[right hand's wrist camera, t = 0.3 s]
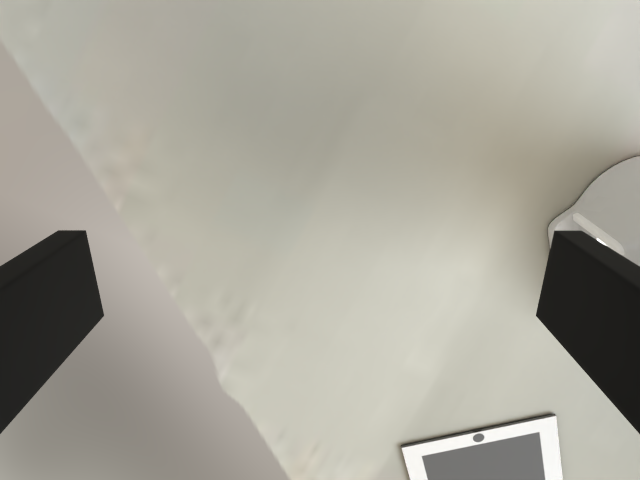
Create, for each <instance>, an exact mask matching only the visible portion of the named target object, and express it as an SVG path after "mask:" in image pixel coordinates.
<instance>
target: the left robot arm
mask: <svg viewBox="0 0 640 480" xmlns="http://www.w3.org/2000/svg"><path fill="white" fill-rule="evenodd" d="M554 231H583V232H585V233H586V234H588V235H590V236H591V237H593V238H595V239H596V240H598V241H599V242H601V243H603V244H604V245H606V246H608V247H609V248H611V249H612V250H614V251H616V252H617V253H619V254H620V255H622V256H624V257H625V258H627V259H629V260H630V261H632V262H633V263H635V264H637V265H638V266H640V156H637V157H633V158H630V159H627V160H625V161H623V162H621V163H618V164H617V165H615V166H613V167H611V168H610V169H608V170H607V171H605V172H604V173H603V174H601V175H600V176H599V177H598V178H597V179H596V180H595V181H593V182H592V184H591V185H590V186H589V187H588V188H587V189H586V190H585V192H584V193H583V194H582V196H581V197H580V198H579V200H578V201H577V202H576V203H575V204H574V205H573V206H572V207H571V208H570V209H568V210H566V211H565V212H563V213H562V214H560V215H559V216H558V217H556V218H555V219H554V220H553V221H552V222H551V223H550V225H549V227H548V237H549V245H550V248H551V243H552V239H553V234H554Z"/></svg>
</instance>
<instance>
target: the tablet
mask: <svg viewBox="0 0 640 480" xmlns="http://www.w3.org/2000/svg"><path fill="white" fill-rule="evenodd" d="M401 448H402V452H403V455H404V459H405V462H406V466H407V470H408V473H409V477H410V480H563V477H562V468H561V458H560V449H559V439H558V429H557V420H556V415H555V414H551V415H547V416H542V417H537V418H532V419H527V420H523V421H518V422H513V423H508V424H503V425H499V426H494V427H489V428H484V429H479V430H475V431H470V432H465V433H460V434H455V435H451V436H446V437H441V438H436V439H431V440H427V441H422V442H417V443H412V444H407V445H403V446H401Z"/></svg>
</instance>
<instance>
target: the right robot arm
mask: <svg viewBox="0 0 640 480" xmlns="http://www.w3.org/2000/svg"><path fill="white" fill-rule="evenodd" d="M103 316H104V313H103V309H102V304H101V299H100V295H99V290H98V285H97V281H96V276H95V271H94V267H93V262H92V257H91V253H90V248H89V243H88V239H87V234H86V231H57V232H55V233H54V234H52V235H50V236H49V237H47V238H45V239H44V240H42V241H41V242H39V243H37V244H36V245H34V246H32V247H31V248H29V249H28V250H26V251H24V252H23V253H21V254H20V255H18V256H16V257H15V258H13V259H11V260H10V261H8V262H7V263H5V264H3V265H2V266H0V434H1V433H2V431H3V430H4V429H5V428H6V427H7V426H8V424H9V423H10V422H11V421H12V420H13V419H14V418H15V417H16V415H17V414H18V413H19V412H20V411H21V410H22V409H23V407H24V406H25V405H26V404H27V403H28V402H29V401H30V399H31V398H32V397H33V396H34V395H35V394H36V393H37V391H38V390H39V389H40V388H41V387H42V386H43V385H44V383H45V382H46V381H47V380H48V379H49V378H50V377H51V375H52V374H53V373H54V372H55V371H56V370H57V369H58V368H59V366H60V365H61V364H62V363H63V362H64V361H65V359H66V358H67V357H68V356H69V355H70V354H71V353H72V351H73V350H74V349H75V348H76V347H77V346H78V345H79V344H80V342H81V341H82V340H83V339H84V338H85V337H86V336H87V334H88V333H89V332H90V331H91V330H92V329H93V328H94V326H95V325H96V324H97V323H98V322H99V321H100V320H101V318H102V317H103ZM536 316H537V317H538V318H539V320H540V321H541V322H542V323H543V324H544V325H545V326H546V328H547V329H548V330H549V331H550V332H551V333H552V334H553V336H554V337H555V338H556V339H557V340H558V341H559V342H560V344H561V345H562V346H563V347H564V348H565V349H566V350H567V352H568V353H569V354H570V355H571V356H572V357H573V358H574V360H575V361H576V362H577V363H578V364H579V365H580V366H581V368H582V369H583V370H584V371H585V372H586V373H587V374H588V375H589V377H590V378H591V379H592V380H593V381H594V382H595V383H596V385H597V386H598V387H599V388H600V389H601V390H602V391H603V393H604V394H605V395H606V396H607V397H608V398H609V399H610V401H611V402H612V403H613V404H614V405H615V406H616V407H617V409H618V410H619V411H620V412H621V413H622V414H623V415H624V417H625V418H626V419H627V420H628V421H629V422H630V423H631V425H632V426H633V427H634V428H635V429H636V430H637V431H638V433H639V434H640V266H638V265H637V264H635V263H633V262H632V261H630V260H629V259H627V258H625V257H624V256H622V255H620V254H619V253H617V252H616V251H614V250H612V249H611V248H609V247H608V246H606V245H604V244H603V243H601V242H599V241H598V240H596V239H595V238H593V237H591V236H590V235H588V234H586V233H585V232H583V231H554V234H553V239H552V243H551V248H550V253H549V257H548V262H547V267H546V271H545V276H544V281H543V285H542V290H541V295H540V299H539V304H538V308H537V313H536Z"/></svg>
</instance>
